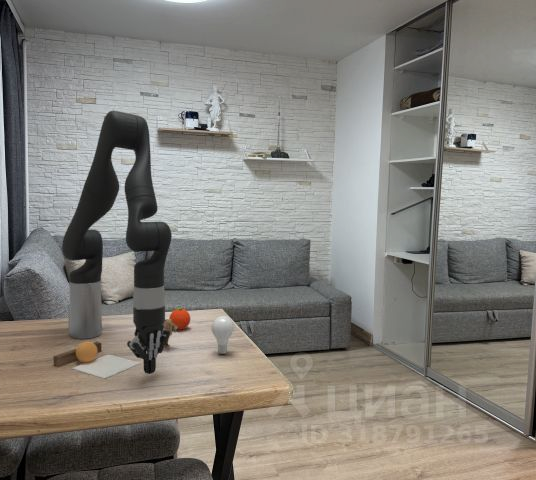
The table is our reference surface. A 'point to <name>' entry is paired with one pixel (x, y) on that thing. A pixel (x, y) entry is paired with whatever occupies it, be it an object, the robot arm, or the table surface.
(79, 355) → the ball
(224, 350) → the lightbulb
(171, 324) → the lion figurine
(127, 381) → the table surface
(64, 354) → the strip
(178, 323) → the tomato
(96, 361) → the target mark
